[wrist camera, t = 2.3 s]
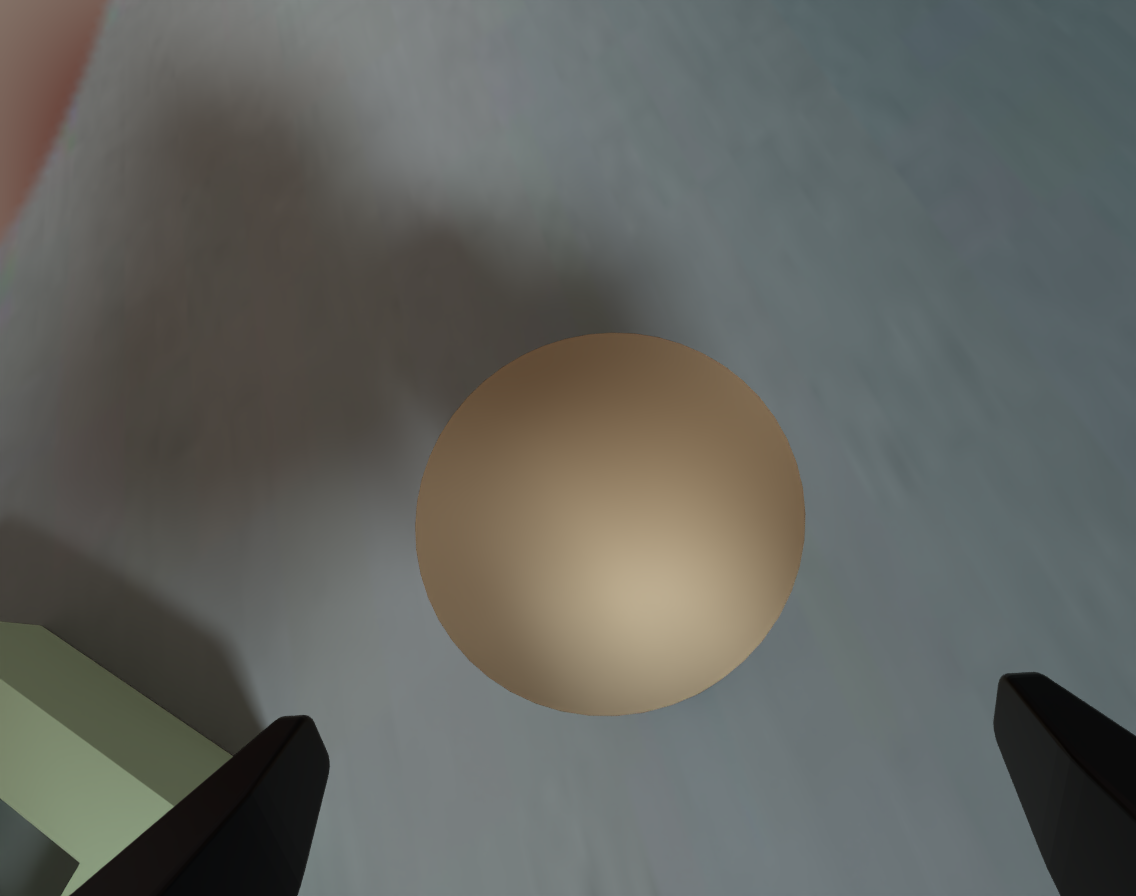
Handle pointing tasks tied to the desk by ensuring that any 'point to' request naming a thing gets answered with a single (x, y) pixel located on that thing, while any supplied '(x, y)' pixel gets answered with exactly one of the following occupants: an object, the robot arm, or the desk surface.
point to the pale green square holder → (88, 750)
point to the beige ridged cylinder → (610, 524)
